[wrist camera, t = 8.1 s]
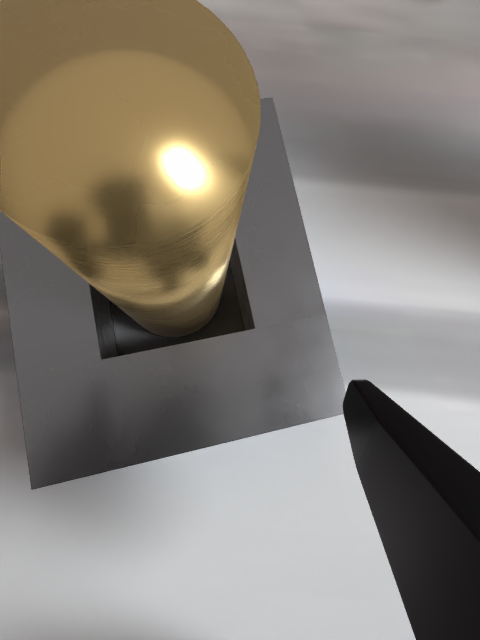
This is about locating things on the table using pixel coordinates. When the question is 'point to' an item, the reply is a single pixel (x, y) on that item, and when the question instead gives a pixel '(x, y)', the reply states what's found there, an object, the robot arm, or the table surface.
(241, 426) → the jig plate
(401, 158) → the table surface
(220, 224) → the brass cylinder
